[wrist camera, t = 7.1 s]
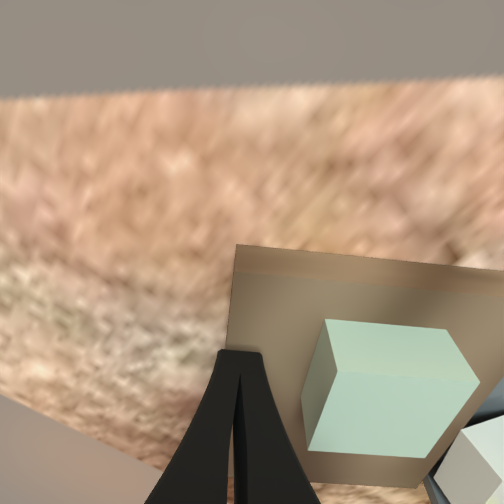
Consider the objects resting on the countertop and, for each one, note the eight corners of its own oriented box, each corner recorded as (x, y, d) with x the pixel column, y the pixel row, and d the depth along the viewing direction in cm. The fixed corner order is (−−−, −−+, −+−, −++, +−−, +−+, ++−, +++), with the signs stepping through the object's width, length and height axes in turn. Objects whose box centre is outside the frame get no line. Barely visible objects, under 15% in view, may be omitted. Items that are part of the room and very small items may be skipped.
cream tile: (535, 404, 15) (584, 449, 14) (500, 453, 17) (538, 496, 16) (460, 429, 14) (502, 480, 13) (433, 477, 16) (466, 526, 15)
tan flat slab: (528, 273, 12) (560, 302, 11) (404, 456, 18) (415, 488, 17) (236, 244, 11) (234, 271, 10) (215, 444, 18) (212, 476, 16)
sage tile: (445, 329, 11) (480, 382, 10) (402, 404, 13) (424, 458, 12) (324, 318, 11) (337, 371, 9) (300, 396, 13) (307, 450, 11)
